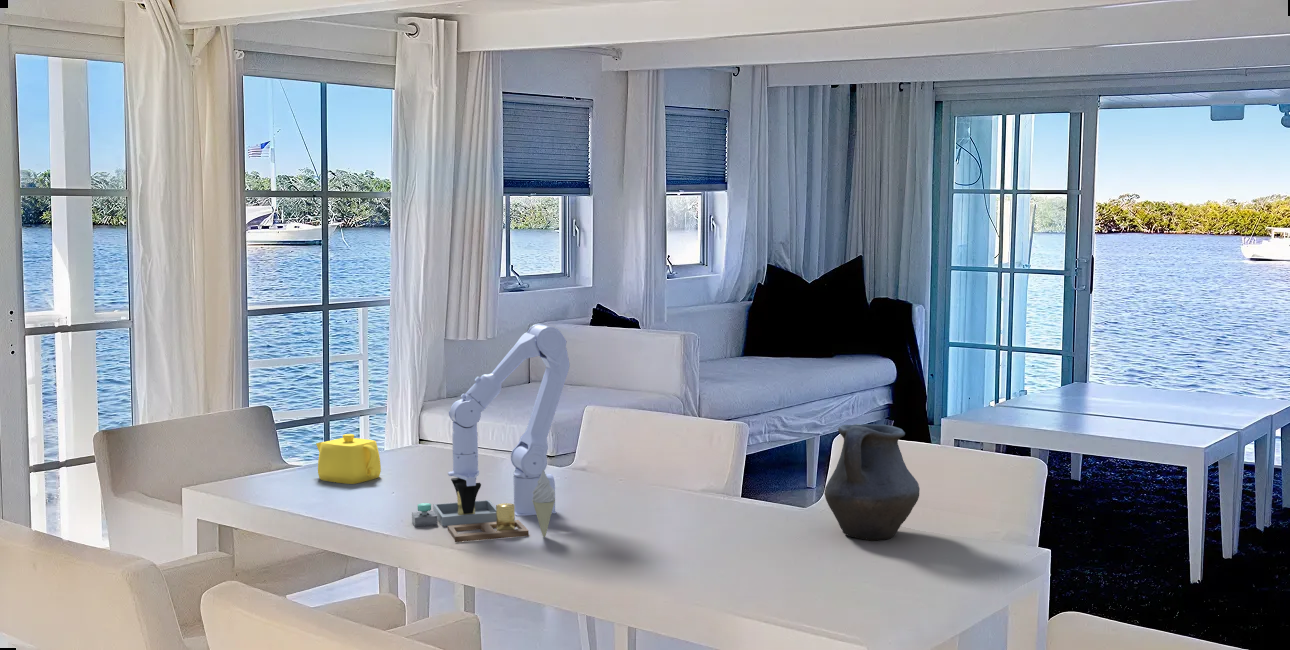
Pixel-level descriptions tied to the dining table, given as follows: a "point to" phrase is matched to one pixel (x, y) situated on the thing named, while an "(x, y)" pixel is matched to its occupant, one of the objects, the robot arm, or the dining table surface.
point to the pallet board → (486, 531)
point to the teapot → (348, 460)
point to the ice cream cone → (543, 502)
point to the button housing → (424, 519)
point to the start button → (424, 508)
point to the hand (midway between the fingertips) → (466, 510)
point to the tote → (449, 515)
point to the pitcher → (871, 483)
